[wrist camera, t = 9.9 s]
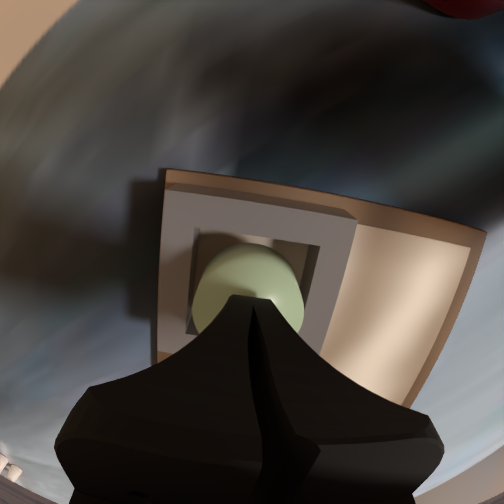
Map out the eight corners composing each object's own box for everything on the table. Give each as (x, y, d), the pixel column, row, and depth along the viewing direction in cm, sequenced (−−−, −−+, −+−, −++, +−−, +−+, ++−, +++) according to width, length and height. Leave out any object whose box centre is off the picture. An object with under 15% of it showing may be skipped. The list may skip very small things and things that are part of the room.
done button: (306, 251, 12) (315, 272, 10) (286, 334, 13) (290, 363, 11) (205, 236, 12) (196, 254, 10) (196, 322, 13) (188, 350, 11)
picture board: (481, 230, 14) (489, 233, 13) (374, 452, 20) (376, 458, 19) (169, 168, 13) (165, 169, 12) (162, 440, 19) (160, 447, 18)
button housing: (344, 209, 13) (357, 220, 11) (308, 347, 15) (313, 370, 14) (176, 183, 13) (165, 189, 11) (166, 328, 15) (157, 350, 13)
